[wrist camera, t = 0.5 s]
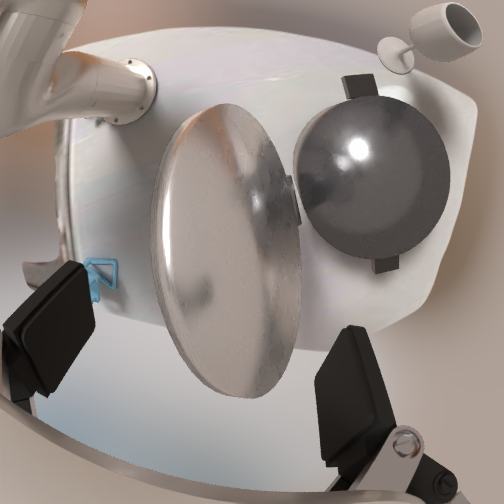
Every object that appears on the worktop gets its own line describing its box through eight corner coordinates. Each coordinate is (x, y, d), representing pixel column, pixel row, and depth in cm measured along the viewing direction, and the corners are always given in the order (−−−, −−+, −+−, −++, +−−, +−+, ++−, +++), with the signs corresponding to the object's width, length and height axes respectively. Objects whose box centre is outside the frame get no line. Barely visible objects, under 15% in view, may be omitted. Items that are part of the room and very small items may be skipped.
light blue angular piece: (87, 248, 53) (55, 275, 42) (117, 260, 54) (88, 290, 43) (87, 276, 57) (59, 305, 46) (116, 288, 57) (90, 320, 46)
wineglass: (417, 77, 34) (494, 61, 15) (379, 72, 34) (446, 45, 16) (410, 39, 30) (479, 7, 11) (372, 33, 31) (429, -12, 12)
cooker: (310, 254, 50) (318, 290, 39) (273, 97, 39) (273, 86, 28) (418, 231, 46) (449, 260, 35) (398, 81, 35) (433, 71, 24)
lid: (313, 278, 38) (288, 279, 39) (275, 106, 28) (246, 113, 30) (261, 451, 17) (220, 442, 18) (108, 107, 8) (60, 142, 9)
